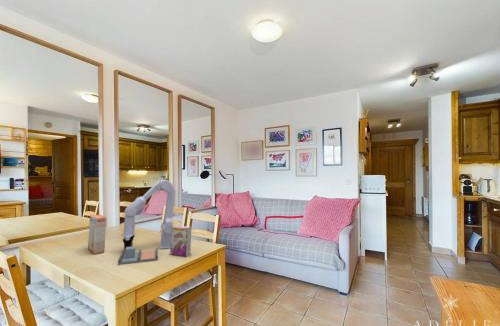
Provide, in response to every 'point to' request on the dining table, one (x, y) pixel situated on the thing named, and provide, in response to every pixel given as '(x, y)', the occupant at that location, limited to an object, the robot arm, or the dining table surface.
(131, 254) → the slate-blue block
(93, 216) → the cracker box
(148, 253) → the slot rack
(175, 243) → the candy bar box
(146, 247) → the dining table surface
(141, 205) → the robot arm
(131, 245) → the terracotta block
